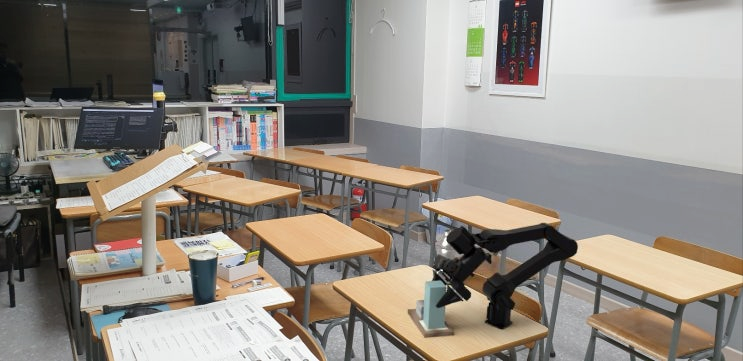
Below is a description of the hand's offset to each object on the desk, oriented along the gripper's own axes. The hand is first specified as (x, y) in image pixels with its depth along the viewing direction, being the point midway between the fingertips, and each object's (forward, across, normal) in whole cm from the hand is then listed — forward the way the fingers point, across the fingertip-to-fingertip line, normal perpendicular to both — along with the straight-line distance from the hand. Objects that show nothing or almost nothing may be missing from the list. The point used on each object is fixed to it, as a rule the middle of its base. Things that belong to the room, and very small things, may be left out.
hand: (431, 300), depth 159 cm
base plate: (+6, -4, +7) cm, 10 cm away
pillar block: (+5, 0, +6) cm, 8 cm away
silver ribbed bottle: (-6, -35, +20) cm, 41 cm away
